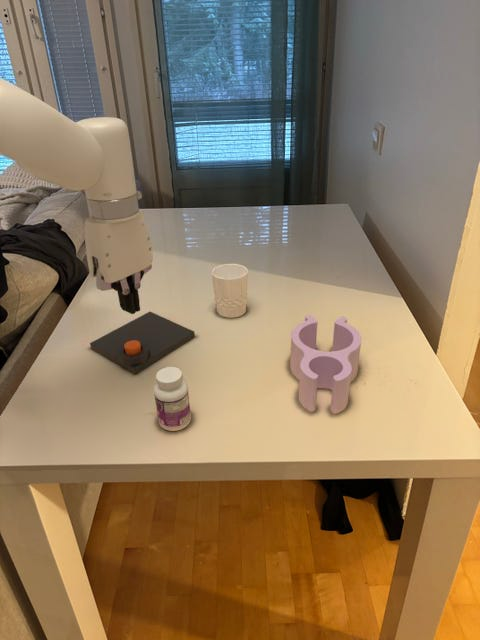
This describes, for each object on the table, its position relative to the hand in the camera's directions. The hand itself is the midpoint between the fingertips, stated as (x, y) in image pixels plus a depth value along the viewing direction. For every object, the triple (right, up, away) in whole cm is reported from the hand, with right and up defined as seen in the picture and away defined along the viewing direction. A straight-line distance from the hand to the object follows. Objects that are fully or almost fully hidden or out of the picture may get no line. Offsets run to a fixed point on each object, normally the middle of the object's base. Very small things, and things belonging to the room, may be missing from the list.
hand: (130, 310), depth 80 cm
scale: (-1, -6, +16) cm, 17 cm away
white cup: (+17, 0, +26) cm, 31 cm away
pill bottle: (+8, -18, -4) cm, 21 cm away
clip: (+34, -12, +5) cm, 37 cm away
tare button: (-2, -8, +9) cm, 12 cm away
